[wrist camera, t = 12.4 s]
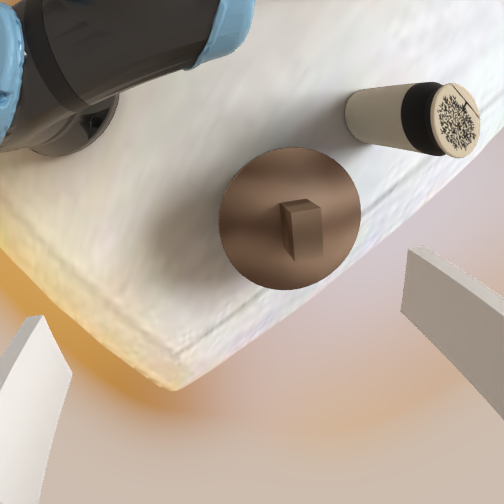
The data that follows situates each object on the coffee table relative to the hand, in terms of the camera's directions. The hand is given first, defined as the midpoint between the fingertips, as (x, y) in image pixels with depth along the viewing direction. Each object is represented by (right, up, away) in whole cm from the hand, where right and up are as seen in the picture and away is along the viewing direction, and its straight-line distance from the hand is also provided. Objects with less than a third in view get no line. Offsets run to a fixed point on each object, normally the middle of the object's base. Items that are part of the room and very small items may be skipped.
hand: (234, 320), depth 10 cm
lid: (+5, +6, +25) cm, 26 cm away
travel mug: (+17, +21, +30) cm, 40 cm away
